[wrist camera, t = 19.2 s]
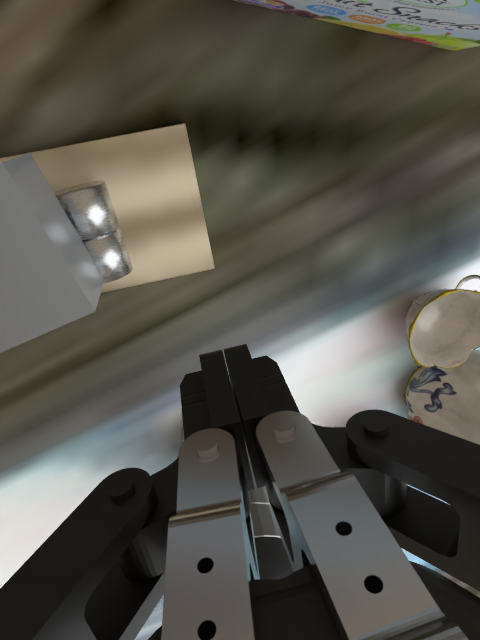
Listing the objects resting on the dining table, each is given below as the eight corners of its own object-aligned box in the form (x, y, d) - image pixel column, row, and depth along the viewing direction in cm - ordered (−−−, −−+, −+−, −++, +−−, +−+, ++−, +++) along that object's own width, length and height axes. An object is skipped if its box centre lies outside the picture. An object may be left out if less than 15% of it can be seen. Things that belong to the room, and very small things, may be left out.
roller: (82, 289, 34) (86, 272, 38) (133, 275, 35) (132, 260, 38) (47, 199, 31) (55, 190, 35) (104, 185, 32) (105, 178, 35)
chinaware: (386, 252, 45) (475, 322, 30) (535, 276, 47) (687, 352, 32) (318, 465, 56) (358, 594, 41) (440, 477, 59) (520, 603, 43)
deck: (213, 264, 41) (227, 304, 33) (-104, 332, 39) (-171, 392, 31) (184, 123, 35) (192, 129, 27) (-186, 193, 33) (-295, 221, 25)
